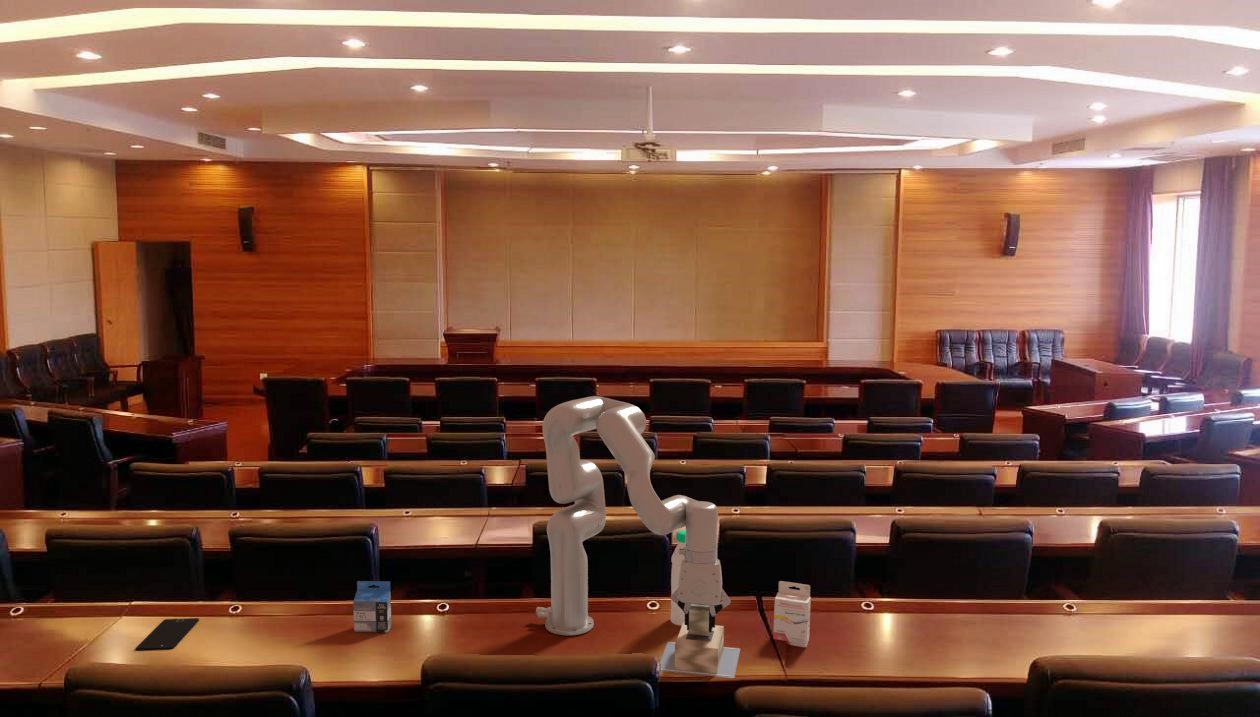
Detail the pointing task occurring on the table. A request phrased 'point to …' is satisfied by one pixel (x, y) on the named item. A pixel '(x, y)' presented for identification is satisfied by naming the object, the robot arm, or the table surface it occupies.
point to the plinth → (699, 650)
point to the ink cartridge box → (792, 614)
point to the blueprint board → (725, 670)
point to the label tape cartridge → (372, 607)
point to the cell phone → (167, 634)
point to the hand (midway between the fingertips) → (699, 628)
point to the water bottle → (677, 578)
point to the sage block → (699, 619)
